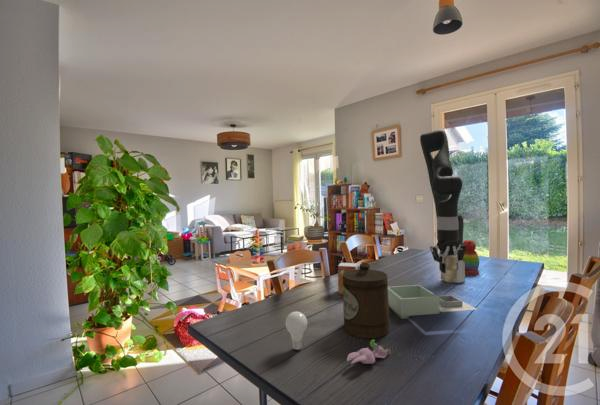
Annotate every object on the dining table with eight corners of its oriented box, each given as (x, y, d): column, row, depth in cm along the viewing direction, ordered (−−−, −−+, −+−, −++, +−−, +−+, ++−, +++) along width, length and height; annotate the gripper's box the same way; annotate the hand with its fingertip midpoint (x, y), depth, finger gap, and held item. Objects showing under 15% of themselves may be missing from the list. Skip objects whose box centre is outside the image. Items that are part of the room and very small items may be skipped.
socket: (454, 298, 122) (454, 291, 122) (477, 312, 108) (477, 304, 108) (422, 300, 121) (421, 293, 120) (441, 314, 107) (441, 306, 106)
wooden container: (341, 319, 106) (340, 258, 105) (383, 318, 105) (381, 257, 104) (346, 339, 91) (345, 269, 90) (395, 338, 90) (393, 268, 90)
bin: (419, 301, 119) (419, 284, 119) (439, 316, 105) (439, 296, 105) (386, 304, 118) (385, 286, 118) (401, 318, 104) (401, 299, 104)
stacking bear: (459, 269, 167) (459, 238, 166) (480, 271, 161) (479, 239, 160) (456, 273, 158) (456, 240, 157) (478, 276, 152) (478, 242, 152)
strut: (450, 278, 116) (450, 253, 116) (456, 281, 112) (456, 255, 112) (440, 278, 116) (440, 253, 115) (447, 281, 112) (446, 256, 111)
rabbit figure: (376, 353, 85) (339, 363, 76) (378, 332, 85) (341, 340, 77) (395, 362, 80) (357, 375, 71) (396, 340, 80) (359, 349, 72)
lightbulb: (286, 344, 89) (284, 308, 88) (306, 343, 89) (305, 307, 89) (286, 356, 82) (285, 317, 82) (309, 354, 83) (308, 315, 83)
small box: (338, 294, 131) (337, 265, 131) (340, 290, 137) (340, 262, 137) (356, 295, 129) (355, 266, 128) (358, 291, 135) (357, 263, 134)
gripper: (458, 226, 118) (459, 268, 118) (424, 227, 116) (426, 270, 117) (471, 228, 110) (472, 273, 111) (435, 230, 109) (436, 275, 109)
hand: (448, 271), depth 114 cm, fingers closed on strut, 4 cm apart
